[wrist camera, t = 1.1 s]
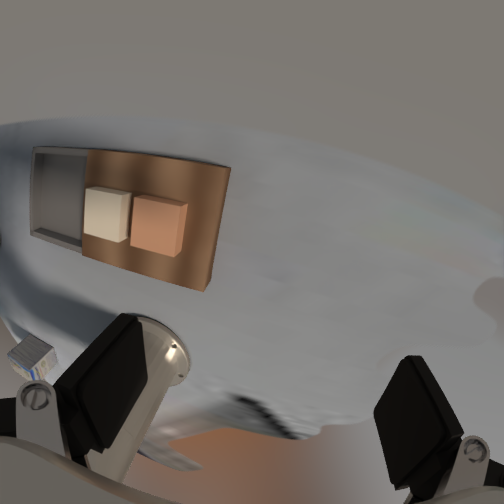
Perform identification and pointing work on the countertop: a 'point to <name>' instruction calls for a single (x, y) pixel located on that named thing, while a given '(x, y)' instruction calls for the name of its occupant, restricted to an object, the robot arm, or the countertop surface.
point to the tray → (58, 195)
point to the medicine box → (32, 358)
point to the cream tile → (107, 213)
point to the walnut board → (168, 187)
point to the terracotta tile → (158, 224)
